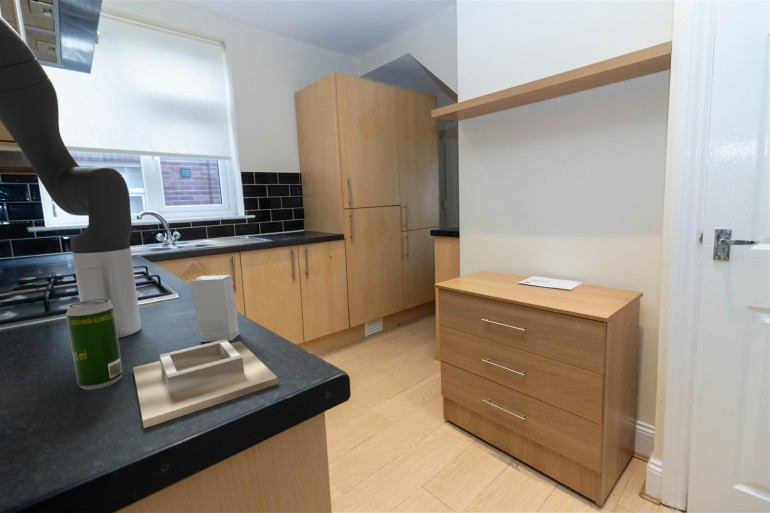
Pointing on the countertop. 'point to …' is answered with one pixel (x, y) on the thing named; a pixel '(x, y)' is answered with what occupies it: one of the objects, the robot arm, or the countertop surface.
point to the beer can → (94, 343)
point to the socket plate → (198, 380)
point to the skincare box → (215, 308)
